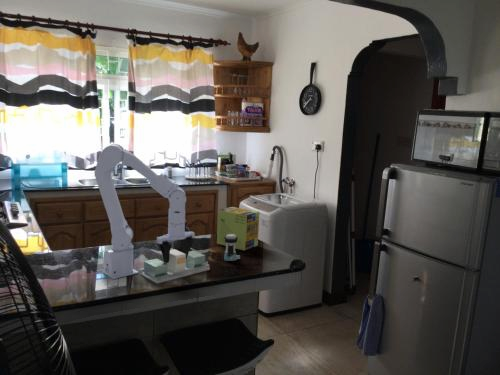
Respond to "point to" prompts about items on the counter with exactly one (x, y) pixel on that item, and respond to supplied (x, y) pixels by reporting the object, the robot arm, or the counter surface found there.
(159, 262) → the din panel
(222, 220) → the protein box
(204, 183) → the counter surface
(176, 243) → the supplement bottle
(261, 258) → the counter surface
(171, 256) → the block
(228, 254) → the push button
